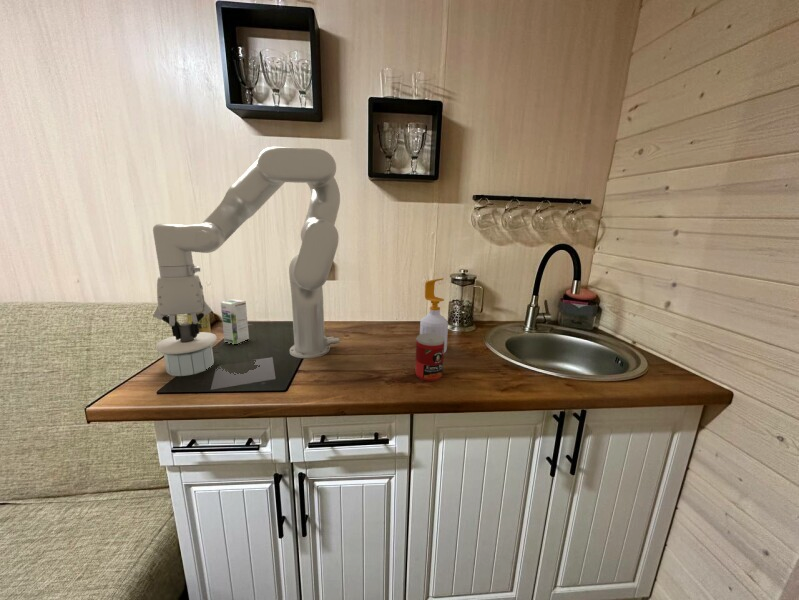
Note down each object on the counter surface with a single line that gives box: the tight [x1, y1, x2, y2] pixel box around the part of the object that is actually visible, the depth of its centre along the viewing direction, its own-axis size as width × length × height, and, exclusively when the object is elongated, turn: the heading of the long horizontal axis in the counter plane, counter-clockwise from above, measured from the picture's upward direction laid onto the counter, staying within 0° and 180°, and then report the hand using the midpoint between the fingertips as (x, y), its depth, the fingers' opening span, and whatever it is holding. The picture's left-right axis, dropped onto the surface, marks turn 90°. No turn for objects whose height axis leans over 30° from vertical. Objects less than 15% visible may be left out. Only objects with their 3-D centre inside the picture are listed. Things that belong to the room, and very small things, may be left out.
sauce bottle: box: [186, 286, 212, 333], centre depth 106 cm, size 7×6×20 cm
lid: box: [155, 322, 218, 355], centre depth 88 cm, size 14×14×6 cm
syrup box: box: [220, 299, 250, 345], centre depth 109 cm, size 6×6×14 cm
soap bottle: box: [419, 278, 449, 354], centre depth 104 cm, size 9×9×25 cm
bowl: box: [163, 345, 215, 377], centre depth 89 cm, size 11×11×6 cm
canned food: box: [414, 333, 445, 382], centre depth 88 cm, size 8×8×11 cm
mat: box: [210, 356, 276, 391], centre depth 88 cm, size 15×15×1 cm
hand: (186, 336), depth 88 cm, fingers closed on lid, 3 cm apart
